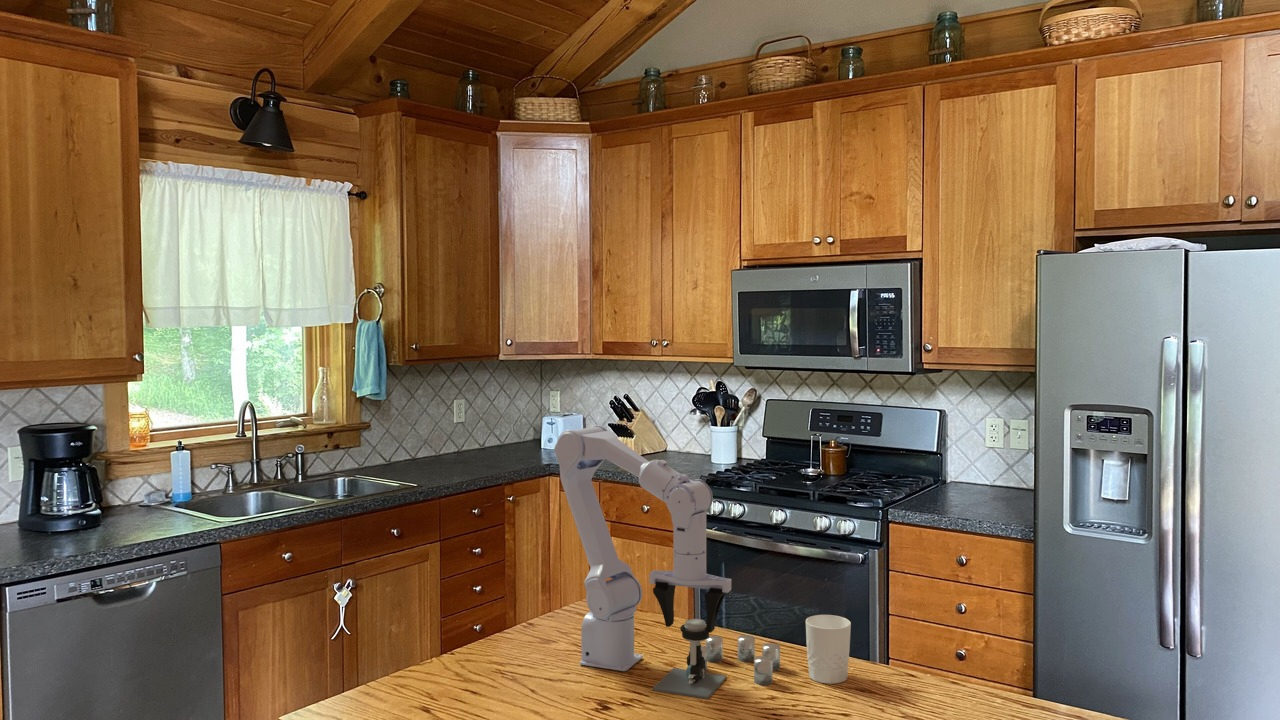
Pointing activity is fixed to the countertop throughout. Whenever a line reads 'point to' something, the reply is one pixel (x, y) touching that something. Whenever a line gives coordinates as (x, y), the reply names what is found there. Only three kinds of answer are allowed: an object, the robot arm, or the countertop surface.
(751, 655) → the cylinder
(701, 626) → the push button
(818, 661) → the white cup
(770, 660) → the cylinder
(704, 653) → the cylinder
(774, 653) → the spacer back right
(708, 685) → the mat
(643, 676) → the countertop surface
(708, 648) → the cylinder
